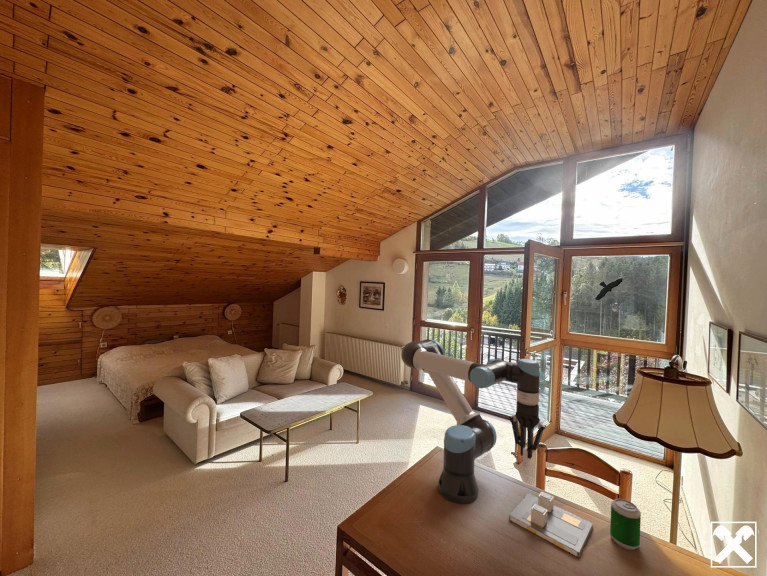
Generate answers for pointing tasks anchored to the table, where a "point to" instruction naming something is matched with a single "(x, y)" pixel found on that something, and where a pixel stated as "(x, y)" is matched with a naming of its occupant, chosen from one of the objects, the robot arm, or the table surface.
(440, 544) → the table surface
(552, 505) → the slider far
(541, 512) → the slider near
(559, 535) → the switch board
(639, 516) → the soda can
